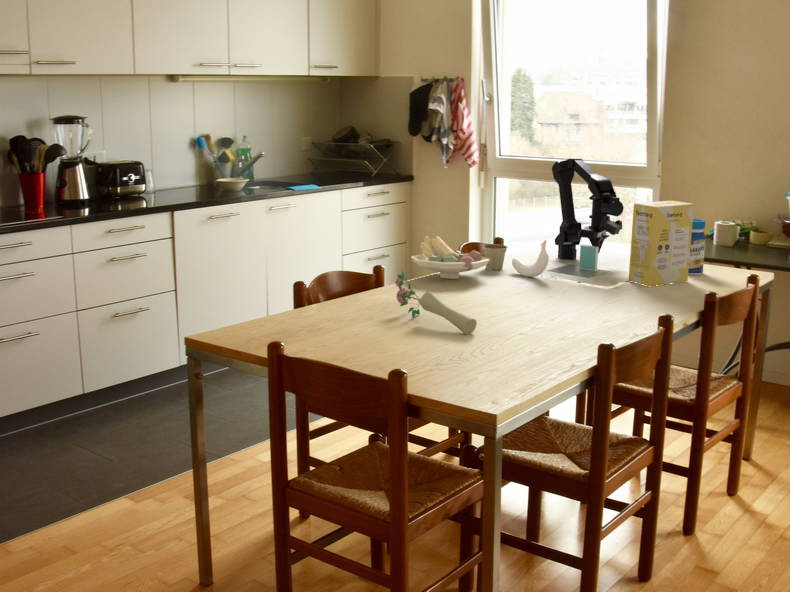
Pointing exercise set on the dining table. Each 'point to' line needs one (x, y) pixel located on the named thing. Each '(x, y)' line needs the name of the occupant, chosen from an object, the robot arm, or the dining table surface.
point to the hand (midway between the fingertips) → (597, 253)
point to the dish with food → (447, 259)
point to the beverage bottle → (697, 248)
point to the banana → (534, 268)
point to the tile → (588, 257)
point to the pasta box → (661, 242)
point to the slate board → (577, 271)
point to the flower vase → (435, 307)
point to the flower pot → (495, 256)
